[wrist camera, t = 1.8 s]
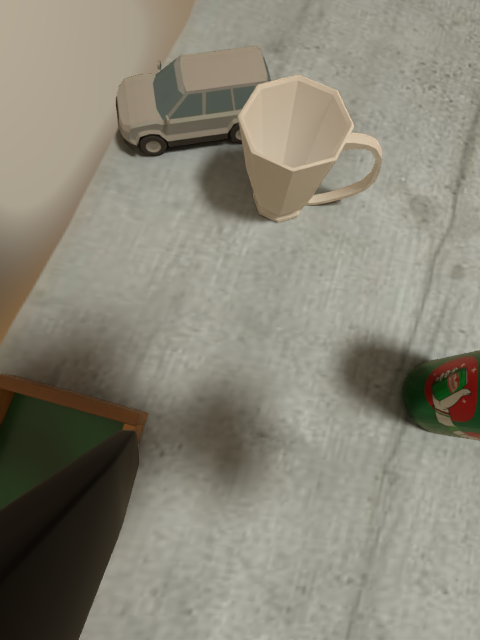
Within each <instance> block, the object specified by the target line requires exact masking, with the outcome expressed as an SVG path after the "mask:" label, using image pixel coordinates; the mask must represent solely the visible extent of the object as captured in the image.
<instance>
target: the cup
mask: <svg viewBox="0 0 480 640" xmlns="http://www.w3.org/2000/svg"><path fill="white" fill-rule="evenodd" d="M238 121H239V127H240V133H241V139H242V144H243V150H244V157H245V163H246V170H247V173H248V176H249V179H250V182H251V185H252V188H253V191H254V193H253V199H254V202H255V204H256V207H257V210H258V213H259V214H260V215H262V216H264V217H267V218H269V219H271V220H273V221H275V222H277V223H278V222H282V221H285V220H289V219H292V218H296V217H297V216H298V214H299V212H300V210H301V209H302V208H303V207H304V206H305V205H318V204H324V203H329V202H333V201H336V200H340V199H343V198H347V197H350V196H353V195H355V194H358V193H360V192H362V191H364V190H366V189H367V188H368V187H369V186H370V185H372V184H373V183H374V182H375V180H376V178H377V176H378V174H379V172H380V168H381V162H382V149H381V147H380V145H379V143H378V141H377V139H375V138H373V137H371V136H369V135H365V134H360V133H351V131H352V130H353V128H354V124H353V122H352V120H351V118H350V116H349V113H348V111H347V109H346V107H345V105H344V103H343V101H342V99H341V96H340V94H339V92H338V91H337V90H334V89H332V88H329V87H327V86H325V85H322V84H320V83H318V82H315V81H313V80H310V79H308V78H306V77H303V76H301V75H294V76H290V77H286V78H282V79H278V80H274V81H270V82H266V83H261V84H258V85H257V86H256V88H255V90H254V91H253V93H252V94H251V96H250V98H249V99H248V101H247V102H246V104H245V105H244V107H243V109H242V110H241V112H240V113H239V115H238ZM348 149H367V150H369V151H371V152H372V153H373V155H374V157H375V159H376V161H375V164H374V166H373V169H372V171H371V173H369V174H368V175H367V176H366V177H365V178H364V179H363V180H361V181H359V182H357V183H355V184H352V185H350V186H347V187H344V188H341V189H337V190H334V191H331V192H327V193H322V194H316V195H314V193H315V192H316V190H317V189H318V187H319V185H320V184H321V182H322V181H323V179H324V178H325V177H326V175H327V174H328V172H329V171H330V169H331V168H332V166H333V165H334V163H335V161H336V160H337V158H338V156H339V154H340V152H341V150H348Z"/></svg>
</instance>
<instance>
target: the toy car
mask: <svg viewBox="0 0 480 640" xmlns="http://www.w3.org/2000/svg"><path fill="white" fill-rule="evenodd" d="M158 71H159V73H157V74H152V73H149V74H140V75H135V76H131V77H128V78H125V79H124V80H123V81H122V83H121V84H120V85H119V88H118V92H117V97H116V109H117V117H118V127H119V130H120V133H121V136H122V138H123V139H124V141H125V143H126V144H127V145H128V146H130V147H131V148H132V149H137V150H138V142H139V147H140V149H141V150H142V151H143V152H144V153H146V154H149V155H159V154H161V153H163V152H164V151H165V150H166V147H167V141H168V144H169V147H173V146H180V145H187V144H194V143H201V142H208V141H215V140H222V139H228V132H229V135H230V138H231V140H233V141H234V142H236V143H242V139H241V133H240V127H239V121H238V115H239V113H240V112H241V110H242V109H243V107H244V105H245V104H246V102H247V101H248V99H249V98H250V96H251V94H252V93H253V91H254V90H255V88H256V86H257V85H258V84H261V83H266V82H270V81H271V79H270V75H269V71H268V67H267V65H266V62H265V59H264V57H263V54H262V51H261V49H260V48H259V47H258V46H251V47H243V48H235V49H228V50H220V51H212V52H205V53H197V54H189V55H180V56H179V57H178V58H177V59H175V60H174V61H173V62H171V63H170V64H169V65H168V66H166V67H165V68H164V69H162V70H161V62H160V61H158ZM166 140H167V141H166Z"/></svg>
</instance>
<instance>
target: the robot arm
mask: <svg viewBox="0 0 480 640" xmlns="http://www.w3.org/2000/svg"><path fill="white" fill-rule="evenodd" d="M138 464H139V451H138V437H137V433H136V431H134V430H119V431H118V432H116V433H114V434H113V435H111V436H110V437H108V438H107V439H105V440H104V441H102V442H101V443H99V444H98V445H96V446H95V447H93V448H92V449H90V450H89V451H87V452H86V453H84V454H83V455H81V456H80V457H78V458H77V459H75V460H74V461H72V462H71V463H69V464H68V465H66V466H65V467H63V468H62V469H60V470H59V471H57V472H56V473H54V474H53V475H51V476H50V477H48V478H47V479H45V480H44V481H42V482H41V483H39V484H38V485H36V486H35V487H33V488H32V489H30V490H29V491H27V492H26V493H24V494H23V495H21V496H20V497H18V498H17V499H15V500H14V501H12V502H11V503H9V504H8V505H6V506H4V507H3V508H1V509H0V640H79V637H80V634H81V632H82V629H83V627H84V624H85V622H86V619H87V616H88V614H89V611H90V609H91V606H92V603H93V601H94V598H95V596H96V593H97V591H98V588H99V585H100V583H101V580H102V578H103V575H104V572H105V570H106V567H107V565H108V562H109V559H110V557H111V554H112V552H113V549H114V547H115V544H116V541H117V539H118V536H119V533H120V530H121V528H122V524H123V521H124V517H125V514H126V510H127V506H128V503H129V499H130V495H131V491H132V488H133V484H134V480H135V477H136V473H137V469H138Z"/></svg>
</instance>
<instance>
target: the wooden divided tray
mask: <svg viewBox="0 0 480 640" xmlns="http://www.w3.org/2000/svg"><path fill="white" fill-rule="evenodd" d="M147 416H148V413H147V412H143V411H140V410H136V409H132V408H129V407H125V406H122V405H118V404H114V403H111V402H107V401H104V400H100V399H97V398H93V397H89V396H86V395H82V394H79V393H75V392H71V391H68V390H64V389H61V388H57V387H53V386H50V385H46V384H43V383H39V382H35V381H32V380H28V379H25V378H21V377H17V376H12V375H3V374H0V509H1V508H3V507H4V506H6V505H8V504H9V503H11V502H12V501H14V500H15V499H17V498H18V497H20V496H21V495H23V494H24V493H26V492H27V491H29V490H30V489H32V488H33V487H35V486H36V485H38V484H39V483H41V482H42V481H44V480H45V479H47V478H48V477H50V476H51V475H53V474H54V473H56V472H57V471H59V470H60V469H62V468H63V467H65V466H66V465H68V464H69V463H71V462H72V461H74V460H75V459H77V458H78V457H80V456H81V455H83V454H84V453H86V452H87V451H89V450H90V449H92V448H93V447H95V446H96V445H98V444H99V443H101V442H102V441H104V440H105V439H107V438H108V437H110V436H111V435H113V434H114V433H116V432H118V431H119V430H134V431H136V433H137V437H138V444H139V441H140V438H141V434H142V431H143V428H144V425H145V422H146V419H147Z"/></svg>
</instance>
